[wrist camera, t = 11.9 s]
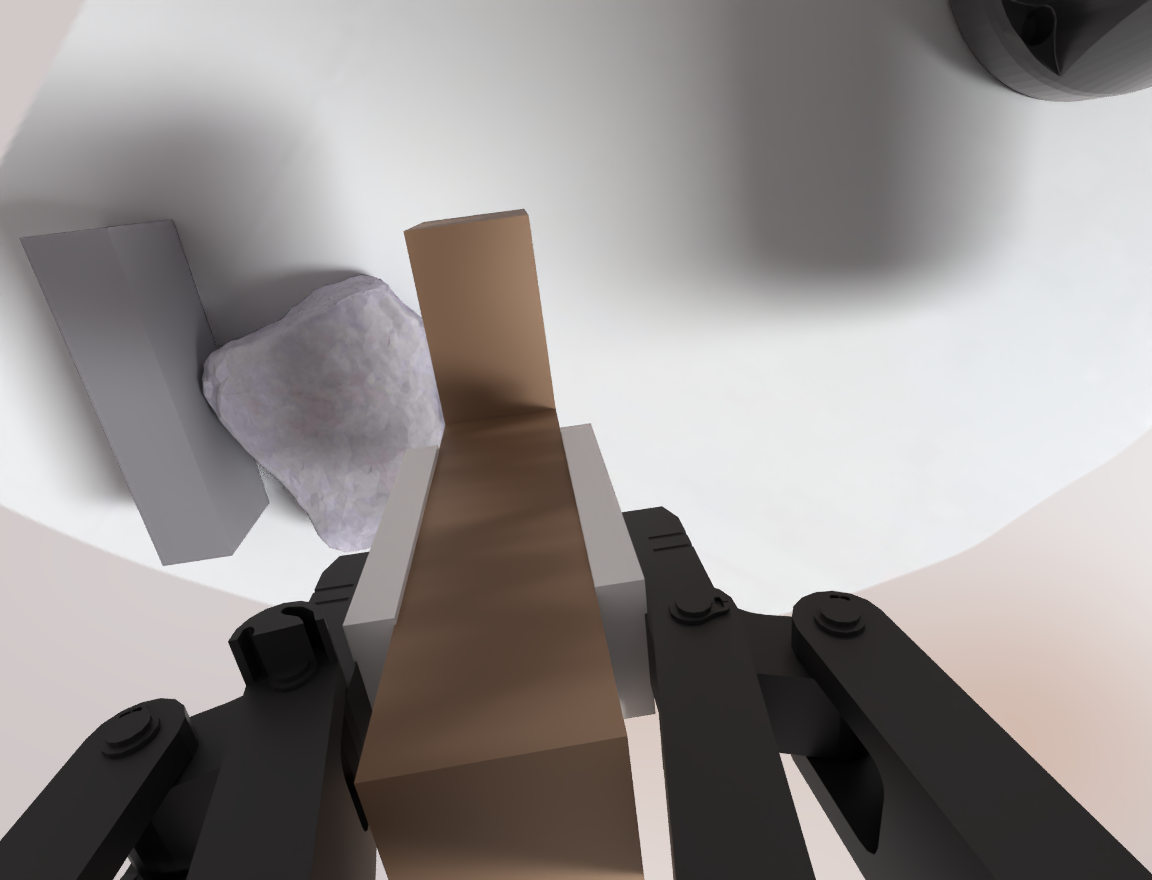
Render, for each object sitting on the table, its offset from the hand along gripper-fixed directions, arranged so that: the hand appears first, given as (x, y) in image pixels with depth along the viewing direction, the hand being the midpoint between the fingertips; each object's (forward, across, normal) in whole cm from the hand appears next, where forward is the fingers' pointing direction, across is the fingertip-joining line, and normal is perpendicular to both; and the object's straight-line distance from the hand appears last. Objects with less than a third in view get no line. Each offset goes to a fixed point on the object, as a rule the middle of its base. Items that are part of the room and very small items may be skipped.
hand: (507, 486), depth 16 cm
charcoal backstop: (+16, +15, 0) cm, 22 cm away
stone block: (+17, +7, +2) cm, 19 cm away
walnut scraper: (+6, 0, 0) cm, 6 cm away
